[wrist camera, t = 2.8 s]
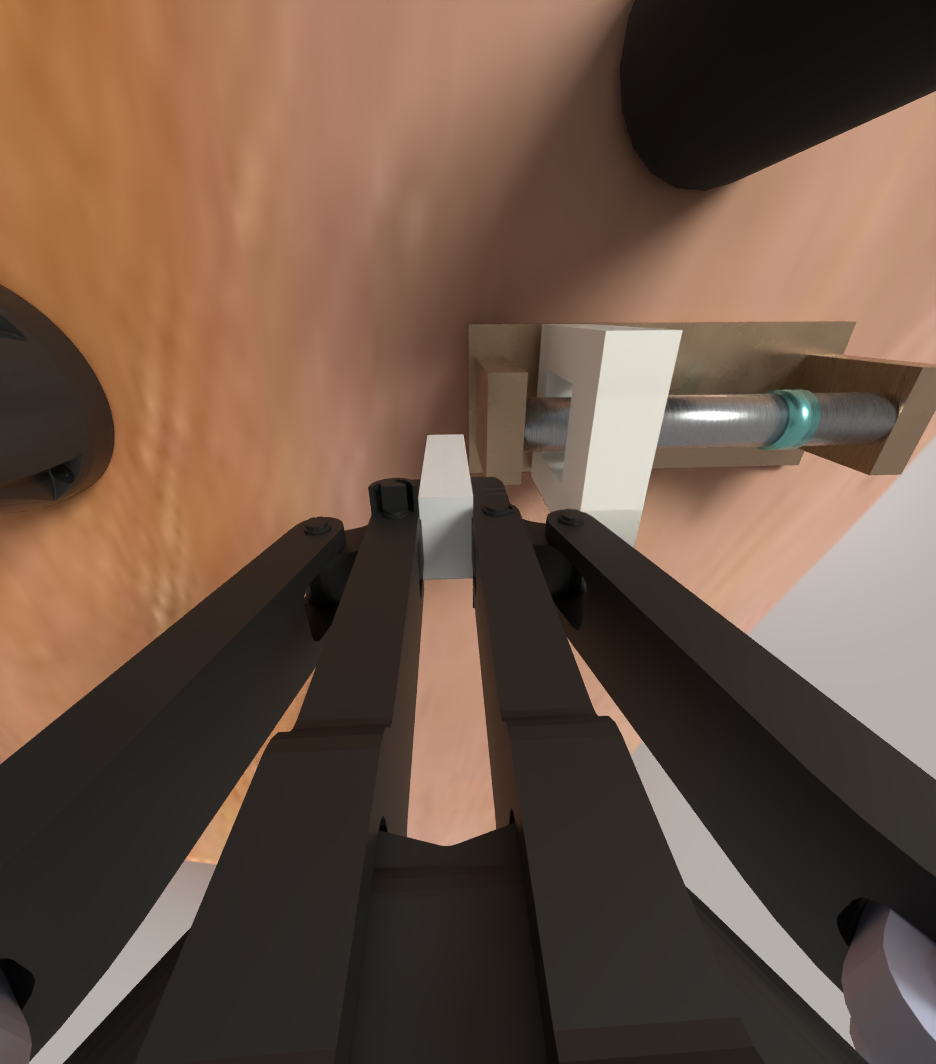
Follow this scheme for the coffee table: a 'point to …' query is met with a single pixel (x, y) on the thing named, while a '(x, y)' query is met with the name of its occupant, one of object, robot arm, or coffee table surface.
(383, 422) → the coffee table surface
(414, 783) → the coffee table surface
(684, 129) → the coffee jar
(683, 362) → the rail
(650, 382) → the collar
